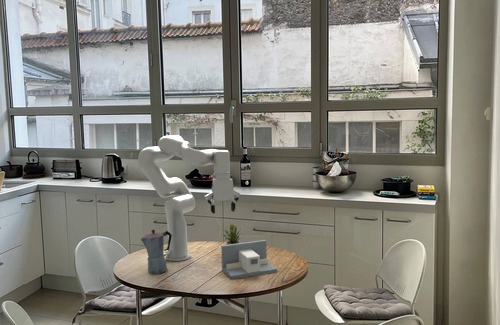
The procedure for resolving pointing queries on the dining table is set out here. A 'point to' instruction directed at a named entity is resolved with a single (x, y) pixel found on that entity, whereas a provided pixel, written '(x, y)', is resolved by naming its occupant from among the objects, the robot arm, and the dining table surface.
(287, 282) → the dining table surface
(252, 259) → the cream rectangular block
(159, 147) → the robot arm
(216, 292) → the dining table surface
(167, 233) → the moka pot
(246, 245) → the cleat board
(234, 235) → the house plant
